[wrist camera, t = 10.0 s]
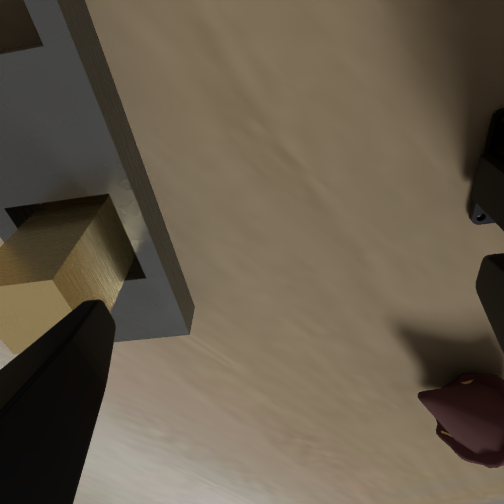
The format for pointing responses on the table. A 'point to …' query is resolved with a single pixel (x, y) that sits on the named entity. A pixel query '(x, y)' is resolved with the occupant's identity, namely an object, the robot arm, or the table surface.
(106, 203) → the brass peg
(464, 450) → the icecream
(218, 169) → the table surface
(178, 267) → the rail
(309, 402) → the table surface
